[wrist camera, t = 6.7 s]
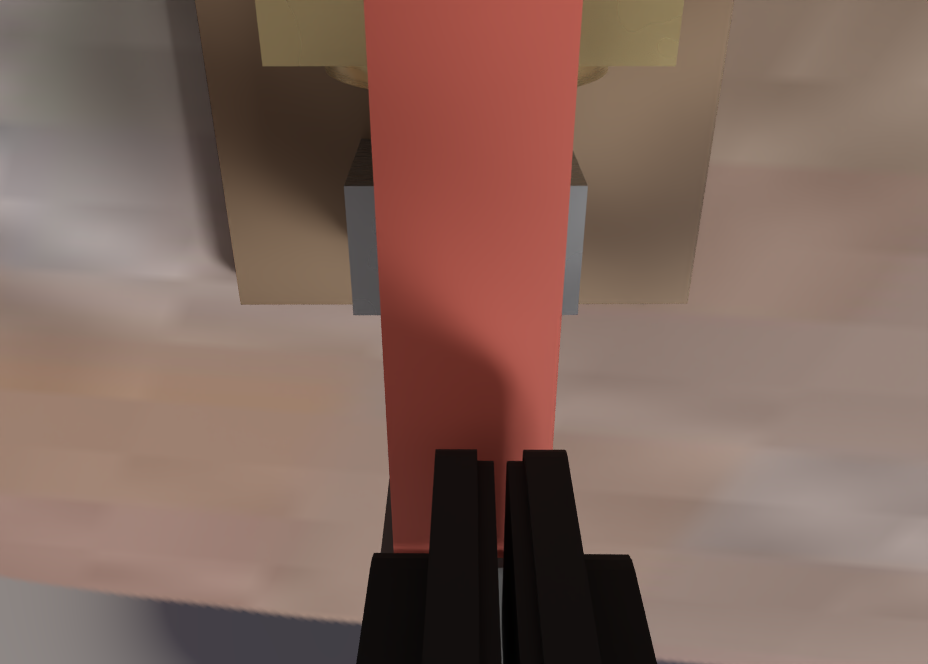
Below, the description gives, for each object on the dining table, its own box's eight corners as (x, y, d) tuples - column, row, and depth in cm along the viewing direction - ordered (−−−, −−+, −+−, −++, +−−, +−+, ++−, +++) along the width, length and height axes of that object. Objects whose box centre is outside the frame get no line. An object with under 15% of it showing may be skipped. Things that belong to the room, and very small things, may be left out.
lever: (344, -354, 8) (311, -427, 6) (599, -355, 8) (642, -425, 6) (401, 682, 16) (393, 792, 14) (533, 682, 16) (543, 792, 14)
